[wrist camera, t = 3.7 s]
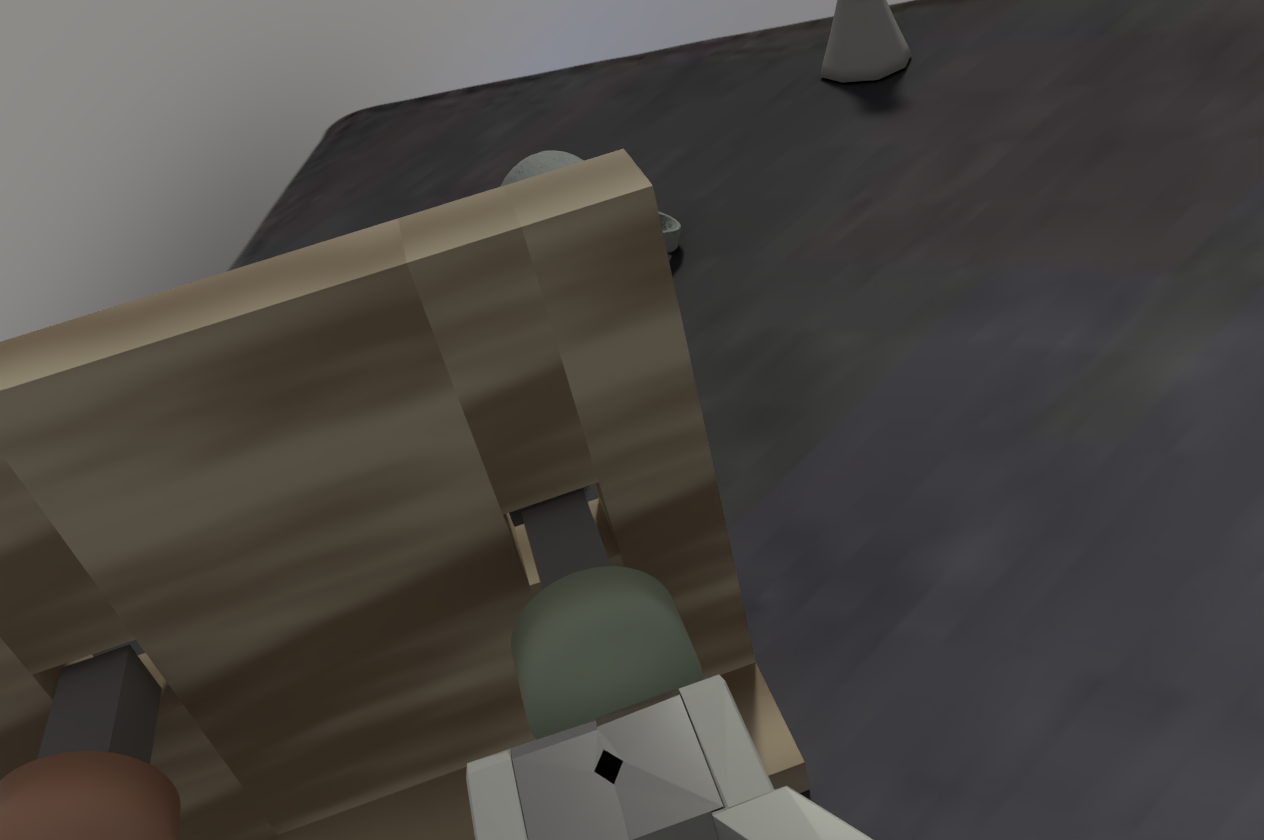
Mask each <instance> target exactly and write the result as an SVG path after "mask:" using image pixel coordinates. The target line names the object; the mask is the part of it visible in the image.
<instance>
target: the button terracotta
mask: <svg viewBox="0 0 1264 840" xmlns="http://www.w3.org/2000/svg"><path fill="white" fill-rule="evenodd" d="M161 691H162V688H161V687H160V685H159V684H158V683H157V681H156V680H155V679H154V677H153V676H152V674H151V673H150V672H149V670H148V669H147V668H146V666H145V665H144V664H143V662H142V661H141V659H140V658H139V657H138V655H137V654H136V653H135V651H134V650H133V649H132V647H131V646H130V645H127V646H124V647H121V648H119V649H116V650H113V651H110V652H107V653H104V654H101V655H98V656H95V657H92V658H89V659H86V660H83V661H80V662H77V663H74V664H71V665H69V666H66V667H63V668H62V669H61V673H60V676H59V680H58V684H57V688H56V691H55V695H54V699H53V703H52V706H51V710H50V714H49V717H48V721H47V725H46V729H45V732H44V736H43V740H42V744H41V747H40V751H39V755H38V759H37V760H34V761H32V762H29V763H27V764H24V765H22V766H21V767H19V768H17V769H15V770H13V771H12V772H10V773H9V774H7V775H6V776H5V777H4V778H2V779H1V780H0V840H177V836H178V827H179V819H180V809H181V803H180V797H179V794H178V792H177V789H176V787H175V786H174V784H173V783H172V782H171V780H170V779H169V778H168V777H167V776H166V775H165V774H163V773H162V772H161V771H160V770H158V769H157V768H155V767H153V766H152V765H150V761H151V755H152V748H153V742H154V736H155V729H156V723H157V716H158V710H159V703H160V697H161Z"/></svg>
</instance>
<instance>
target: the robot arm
mask: <svg viewBox="0 0 1264 840" xmlns="http://www.w3.org/2000/svg"><path fill="white" fill-rule="evenodd" d="M466 782H467V788H468V795H469V801H470V808H471V815H472V821H473V828H474V835H475V840H873V839H871V838H870V837H868V836H867V835H865V834H863V833H862V832H860V831H859V830H857V829H855V828H854V827H852V826H851V825H849V824H847V823H846V822H844V821H843V820H841V819H839V818H838V817H836V816H835V815H833V814H831V813H830V812H828V811H827V810H825V809H823V808H822V807H820V806H819V805H817V804H815V803H814V802H812V801H811V800H809V799H807V798H806V797H804V796H803V795H801V794H799V793H798V792H796V791H795V790H793V789H791V788H790V787H788V786H785V787H781V788H778V789H775V790H774V788H773V786H772V784H771V781H770V779H769V777H768V775H767V772H766V770H765V768H764V766H763V764H762V761H761V759H760V757H759V755H758V752H757V750H756V748H755V746H754V744H753V741H752V739H751V737H750V735H749V732H748V730H747V728H746V726H745V724H744V721H743V719H742V717H741V715H740V713H739V710H738V708H737V706H736V704H735V701H734V699H733V697H732V695H731V693H730V690H729V688H728V686H727V684H726V681H725V680H724V679H723V678H722V677H721V676H720V675H716V676H713V677H710V678H708V679H705V680H702V681H699V682H696V683H694V684H691V685H688V686H685V687H682V688H679V690H678V691H677V689H674V690H671V691H669V692H666V693H663V694H661V695H658V696H655V697H653V698H650V699H647V700H645V701H642V702H639V703H636V704H634V705H631V706H628V707H626V708H623V709H620V710H618V711H615V712H612V713H610V714H607V715H604V716H601V717H599V718H596V719H595V721H592V722H589V723H586V724H583V725H580V726H577V727H574V728H571V729H568V730H565V731H562V732H559V733H556V734H553V735H550V736H547V737H543V738H540V739H537V740H534V741H531V742H528V743H525V744H522V745H519V746H516V747H513V748H511V749H508V750H505V751H502V752H499V753H496V754H493V755H490V756H487V757H484V758H481V759H478V760H476V761H473V762H470V763H467V770H466Z"/></svg>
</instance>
